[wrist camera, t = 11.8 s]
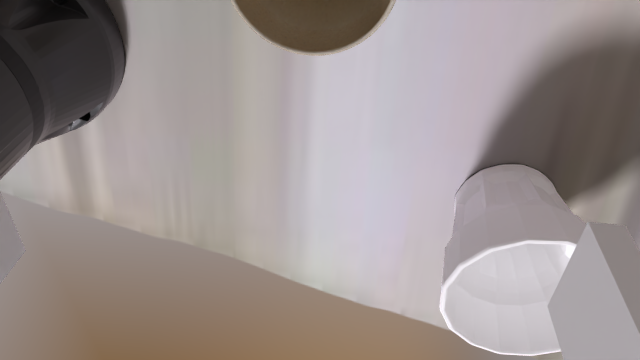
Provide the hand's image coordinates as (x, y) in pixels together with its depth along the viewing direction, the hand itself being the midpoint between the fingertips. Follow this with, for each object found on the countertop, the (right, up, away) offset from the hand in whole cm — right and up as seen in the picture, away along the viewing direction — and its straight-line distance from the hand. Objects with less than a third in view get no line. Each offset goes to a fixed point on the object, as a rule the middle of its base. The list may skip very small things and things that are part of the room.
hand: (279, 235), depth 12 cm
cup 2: (+17, -1, +33) cm, 37 cm away
